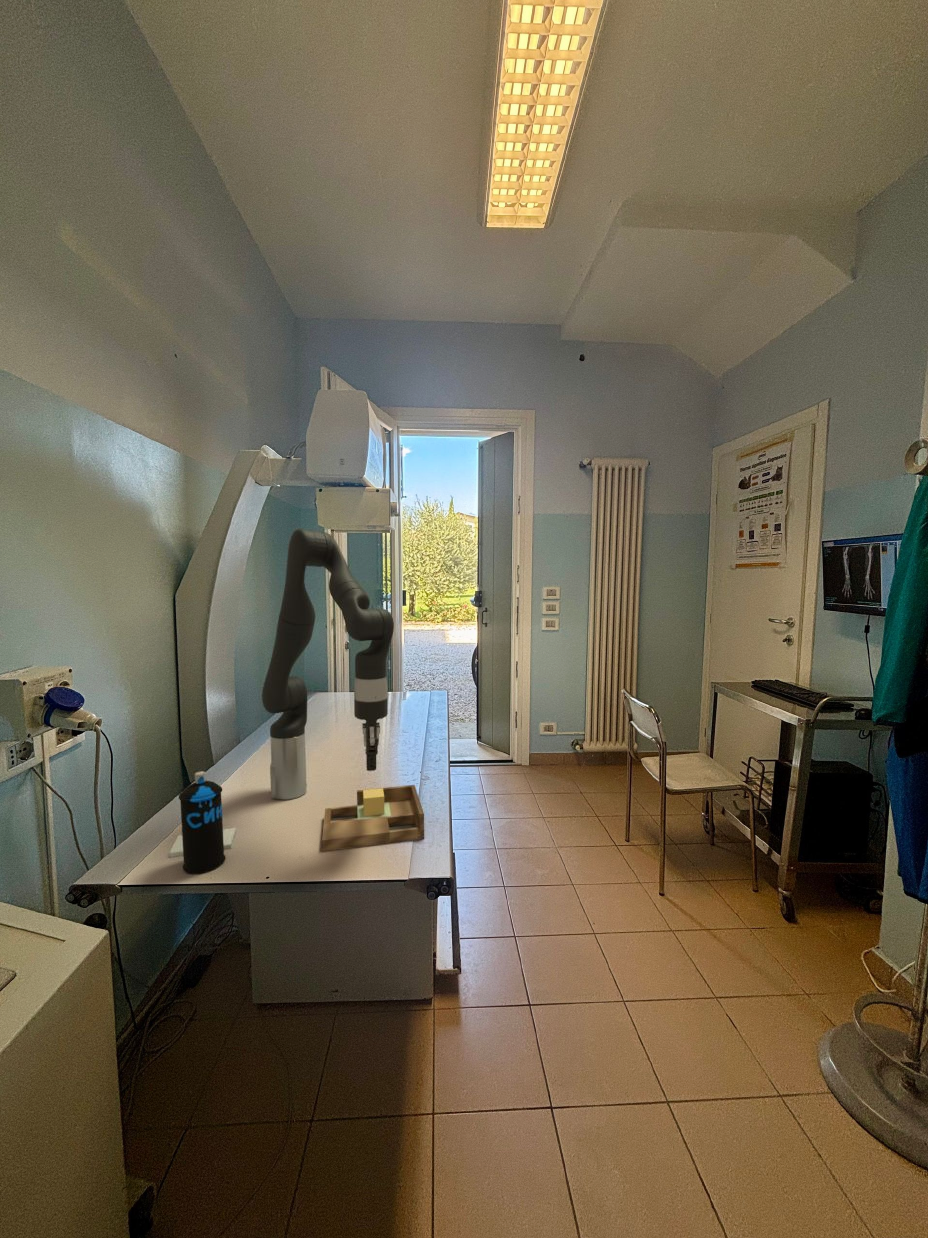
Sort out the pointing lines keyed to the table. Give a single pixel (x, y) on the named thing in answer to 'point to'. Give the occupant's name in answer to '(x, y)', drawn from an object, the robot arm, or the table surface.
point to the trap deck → (375, 821)
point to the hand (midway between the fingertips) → (371, 769)
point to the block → (373, 802)
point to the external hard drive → (227, 840)
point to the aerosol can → (202, 826)
